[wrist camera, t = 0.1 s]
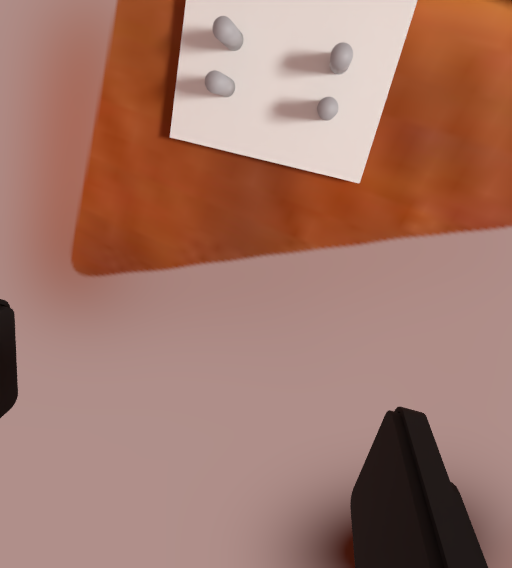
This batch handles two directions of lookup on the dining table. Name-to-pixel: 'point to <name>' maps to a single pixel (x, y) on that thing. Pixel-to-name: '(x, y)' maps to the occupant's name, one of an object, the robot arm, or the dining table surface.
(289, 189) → the dining table surface
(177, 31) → the dining table surface
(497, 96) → the dining table surface
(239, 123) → the standoff plate
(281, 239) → the dining table surface
